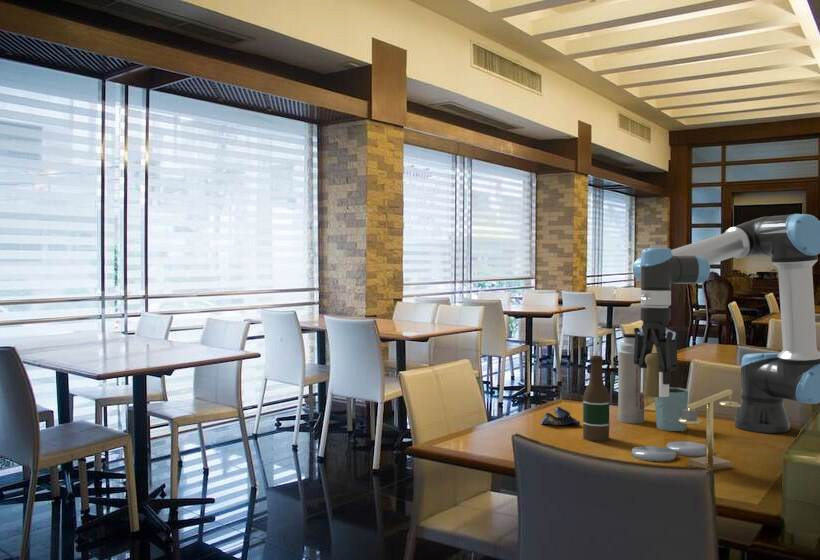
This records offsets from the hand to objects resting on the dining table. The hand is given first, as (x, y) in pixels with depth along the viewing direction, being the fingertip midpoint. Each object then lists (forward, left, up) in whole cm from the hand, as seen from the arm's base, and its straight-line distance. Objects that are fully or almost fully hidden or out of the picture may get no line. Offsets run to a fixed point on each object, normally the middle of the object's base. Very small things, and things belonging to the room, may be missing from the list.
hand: (654, 394), depth 185 cm
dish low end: (0, 0, -16) cm, 16 cm away
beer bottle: (+2, -21, -16) cm, 27 cm away
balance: (-6, +13, -16) cm, 22 cm away
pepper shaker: (0, 0, 0) cm, 1 cm away
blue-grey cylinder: (-27, -22, -16) cm, 38 cm away
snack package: (0, -40, -17) cm, 44 cm away
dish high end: (-12, 0, -16) cm, 20 cm away
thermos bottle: (-23, -35, -16) cm, 45 cm away
